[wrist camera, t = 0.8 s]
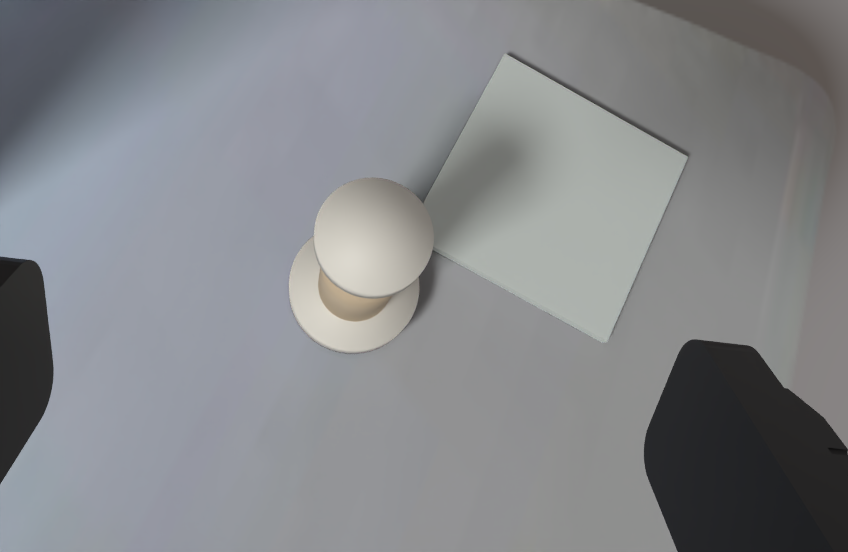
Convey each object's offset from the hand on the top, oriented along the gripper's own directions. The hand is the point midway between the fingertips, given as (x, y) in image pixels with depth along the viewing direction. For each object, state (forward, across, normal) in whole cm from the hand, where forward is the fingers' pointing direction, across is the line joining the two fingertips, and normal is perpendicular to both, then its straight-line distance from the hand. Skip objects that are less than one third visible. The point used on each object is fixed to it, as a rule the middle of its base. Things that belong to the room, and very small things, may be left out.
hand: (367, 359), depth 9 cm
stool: (+24, 0, +14) cm, 28 cm away
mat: (+29, -10, +9) cm, 32 cm away
